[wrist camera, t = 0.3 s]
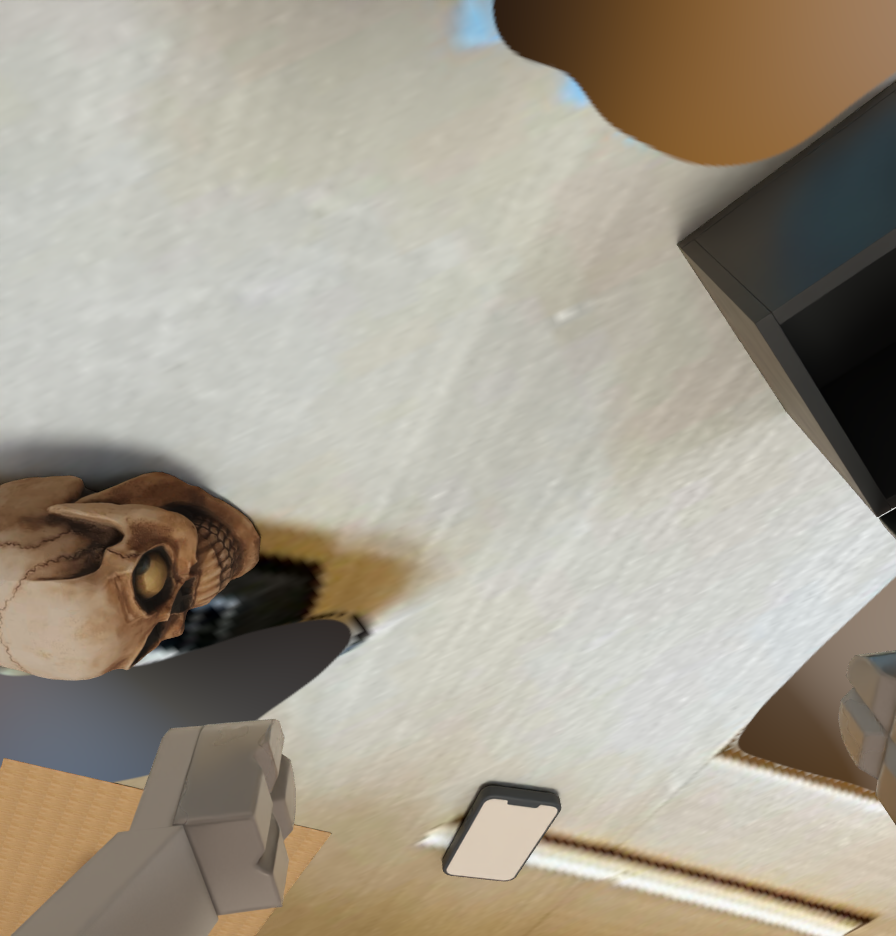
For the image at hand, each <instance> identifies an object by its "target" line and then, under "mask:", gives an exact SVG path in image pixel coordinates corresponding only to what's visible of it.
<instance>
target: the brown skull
mask: <svg viewBox="0 0 896 936" xmlns="http://www.w3.org/2000/svg"><path fill="white" fill-rule="evenodd" d="M259 550H260V536H259V534H258V533H257V532H256V530H255V529H254V527H253V524H252V523H251V521H250V520H249V519H248V518H247V517H246V516H245V515H243V514H242V513H241V512H240V511H239V510H237V509H235V508H234V507H232V506H231V505H229V504H228V503H226V502H224V501H223V500H220V499H218V498H215V497H212V496H211V495H210V494H208V493H207V492H205V491H204V490H202V489H201V488H199V487H196V486H192V485H189V484H187V483H185V482H183V481H182V480H180V479H178V478H176V477H175V476H172V475H169V474H166V473H163V472H151V473H146V474H142V475H140V476H138V477H135V478H132V479H129V480H127V481H125V482H123V483H120V484H118V485H116V486H113V487H111V488H108V489H106V490H103V491H101V492H98V493H96V492H93V491H91V490H89V489H87V488H85V486H84V483H83V481H82V480H81V478H78V477H75V476H51V477H44V478H42V477H31V478H24V479H19V480H15V481H11V482H8V483H5V484H2V485H0V666H4V667H8V668H12V669H16V670H20V671H23V672H26V673H30V674H33V675H36V676H40V677H44V678H49V679H57V680H82V679H83V680H84V679H90V678H94V677H98V676H101V675H103V674H105V673H107V672H109V671H111V670H114V669H120V668H123V669H125V670H128V669H130V668H131V667H133V666H134V665H135V664H136V663H138V662H139V661H140V660H141V659H142V658H143V657H145V656H146V655H147V654H148V653H149V652H151V651H152V650H154V649H155V648H156V647H157V646H158V645H159V643H160V642H161V641H162V640H165V639H169V638H173V637H176V636H179V635H181V634H182V633H183V631H184V621H185V618H186V613H187V611H188V610H190V609H192V608H195V607H200V606H203V605H206V604H208V603H209V602H210V601H211V599H213V598H214V597H215V596H216V595H217V594H218V593H219V592H220V591H221V590H222V589H224V588H225V587H226V585H227V584H228V582H229V581H230V580H231V579H235V578H238V577H241V576H242V575H244V574H245V573H247V572H248V571H250V570H251V569H252V568H254V566H255V565H256V564H257V563H258V561H259Z"/></svg>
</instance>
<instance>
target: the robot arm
mask: <svg viewBox="0 0 896 936" xmlns="http://www.w3.org/2000/svg"><path fill="white" fill-rule="evenodd" d="M846 677H847V678H848V680H849V681H850V683H851V684H852V685H853V687H854V688H853V689H852V690H851V691H850V692H849V693H848V694H847V695H845V697H844V698H842V700H841V704H840V710H839V716H838V719H839V725H840V730H841V736H842V739H843V742H844V744H845V746H846V749H847V751H848V753H849V754H850V756H851V758H852V759H853V761H854V762H855V764H856V766H857V767H858V768H859V769H861V770H863V771H864V772H866V773H867V774H869V775H871V776H872V777H874V778H876V779H877V780H878V783H877V789H876V796H877V798H878V799H879V801H880V802H881V804H882V805H883V807H884V808H885V810H886V811H887V813H888V814H889V816H890V817H891V819H892V820H893V822H894V823H895V825H896V651H887V652H878V653H870V654H861V655H855V656H854V658H853V659H852V660H851V661H850V662H849V665H848V670H847V674H846ZM283 743H284V735H283V732H282V728H281V725H280V722H279V721H278V720H276V719H268V720H256V721H245V722H233V723H221V724H209V725H205V726H194V727H182V728H170V729H169V731H168V732H167V733H166V734H165V735H164V737H163V738H162V740H161V743H160V746H159V749H158V751H157V754H156V757H155V760H154V763H153V766H152V768H151V771H150V774H149V777H148V779H147V782H146V785H145V788H144V790H143V793H142V796H141V799H140V802H139V804H138V807H137V810H136V813H135V815H134V818H133V821H132V824H131V827H130V829H129V831H124V832H118V833H117V834H116V835H115V836H114V837H113V838H112V839H110V840H109V841H108V842H107V843H106V844H105V845H104V846H103V847H102V848H101V849H100V850H99V851H98V852H97V853H96V854H95V855H94V856H93V857H92V858H91V859H90V860H89V861H88V862H87V863H86V864H84V865H83V866H82V867H81V868H80V869H79V870H78V871H77V872H76V873H75V874H74V875H73V876H72V877H71V878H70V879H69V880H68V881H67V882H66V883H65V884H64V885H63V886H62V887H61V888H60V889H58V890H57V891H56V892H55V893H54V894H53V895H52V896H51V897H50V898H49V899H48V900H47V901H46V902H45V903H44V904H43V905H42V906H41V907H40V908H39V909H38V910H37V911H36V912H35V913H34V914H32V915H31V916H30V917H29V918H28V919H27V920H26V921H25V922H24V923H23V924H22V925H21V926H20V927H19V928H18V929H17V930H16V931H15V932H14V933H13V934H12V935H11V936H208V934H209V933H210V931H211V930H212V929H213V927H214V926H215V924H216V923H217V921H218V916H219V915H226V914H233V913H240V912H247V911H254V910H261V909H269V908H276V907H282V904H283V897H284V890H285V883H286V876H287V870H288V863H289V858H288V855H287V851H286V847H285V844H284V840H285V839H286V838H287V836H288V835H289V834H290V833H291V832H292V830H293V827H294V819H295V810H296V788H295V780H294V772H293V768H292V764H291V760H290V759H288V758H287V757H285V756H284V755H283V754H282V749H283Z"/></svg>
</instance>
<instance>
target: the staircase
mask: <svg viewBox="0 0 896 936" xmlns="http://www.w3.org/2000/svg"><path fill="white" fill-rule="evenodd" d="M142 793H143V790H141V789H137V788H132V787H128V786H124V785H119V784H115V783H111V782H106V781H102V780H98V779H93V778H89V777H85V776H80V775H76V774H71V773H67V772H63V771H58V770H54V769H50V768H45V767H41V766H37V765H32V764H28V763H24V762H19V761H15V760H10V759H6V758H4V760H3V763H2V766H1V769H0V936H11V935H12V934H13V933H14V932H15V931H16V930H17V929H18V928H19V927H20V926H21V925H22V924H23V923H24V922H25V921H26V920H27V919H28V918H29V917H30V916H31V915H32V914H34V913H35V912H36V911H37V910H38V909H39V908H40V907H41V906H42V905H43V904H44V903H45V902H46V901H47V900H48V899H49V898H50V897H51V896H52V895H53V894H54V893H55V892H56V891H57V890H58V889H60V888H61V887H62V886H63V885H64V884H65V883H66V882H67V881H68V880H69V879H70V878H71V877H72V876H73V875H74V874H75V873H76V872H77V871H78V870H79V869H80V868H81V867H82V866H83V865H84V864H86V863H87V862H88V861H89V860H90V859H91V858H92V857H93V856H94V855H95V854H96V853H97V852H98V851H99V850H100V849H101V848H102V847H103V846H104V845H105V844H106V843H107V842H108V841H109V840H110V839H112V838H113V837H114V836H115V835H116V834H117V833H118V832H124V831H129V829H130V827H131V824H132V821H133V818H134V815H135V813H136V810H137V807H138V804H139V802H140V799H141V796H142ZM330 834H331V833H328V832H324V831H319V830H315V829H311V828H306V827H302V826H298V825H294V827H293V830H292V832H291V833H290V834H289V835H288V836H287V838H286V839H285V840H284V844H285V847H286V851H287V855H288V858H289V863H288V870H287V876H286V883H285V890H284V896H285V895H286V893H287V892H288V891H289V889H290V888H291V887H292V885H293V884H294V883H295V881H296V880H297V879H298V877H299V876H300V875H301V873H302V872H303V871H304V869H305V868H306V867H307V865H308V864H309V863H310V861H311V860H312V859H313V857H314V856H315V855H316V853H317V852H318V850H319V849H320V848H321V846H322V845H323V844H324V842H325V841H326V840H327V838H328V837H329V836H330ZM274 910H275V908H269V909H261V910H254V911H247V912H240V913H233V914H226V915H219V916H218V921H217V923H216V924H215V926H214V927H213V929H212V930H211V931H210V933H209V934H208V936H255V935H256V934H257V932H258V931H259V930H260V928H261V927H262V926H263V924H264V923H265V922H266V920H267V919H268V918H269V916H270V915H271V914H272V912H273V911H274Z"/></svg>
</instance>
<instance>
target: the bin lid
mask: <svg viewBox="0 0 896 936" xmlns="http://www.w3.org/2000/svg"><path fill="white" fill-rule="evenodd" d="M879 519H880V521H881V522H882V524H883V525H884V527H885V528H886V529H887V530H888V531H889V532H890V533H891V534H892V535H893V537H894V538H895V539H896V509H894V510H892V511H890V512H888V513H887V514H885V515H883V516H881V517H880V518H879Z"/></svg>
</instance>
